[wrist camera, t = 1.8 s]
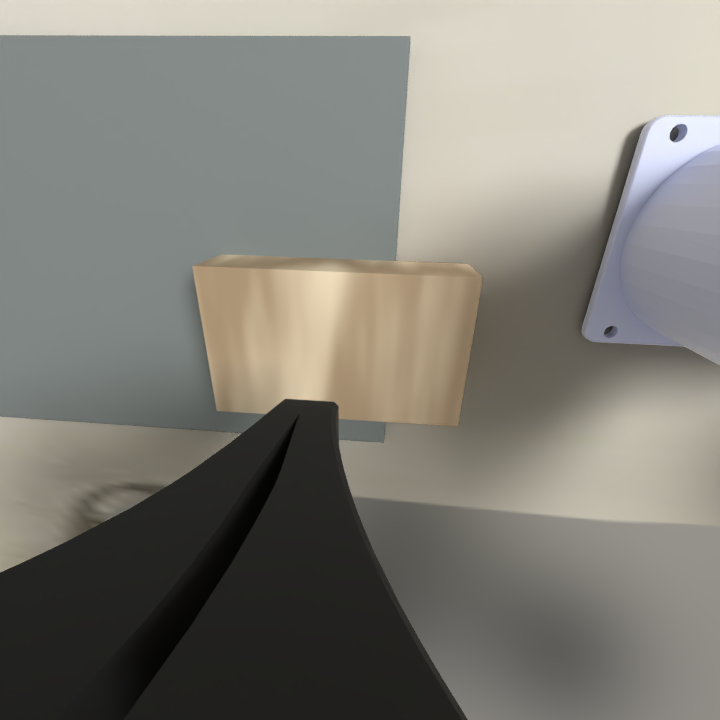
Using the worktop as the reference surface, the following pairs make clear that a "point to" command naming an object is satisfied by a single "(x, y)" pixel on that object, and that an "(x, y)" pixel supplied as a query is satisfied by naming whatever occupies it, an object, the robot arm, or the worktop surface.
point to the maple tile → (339, 334)
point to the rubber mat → (176, 203)
